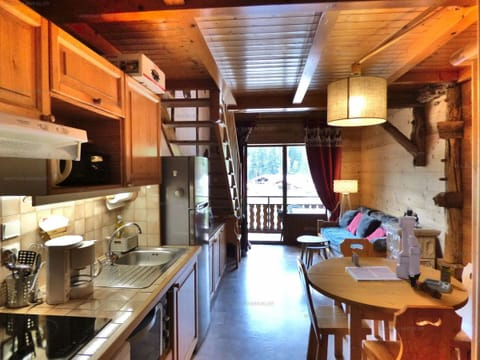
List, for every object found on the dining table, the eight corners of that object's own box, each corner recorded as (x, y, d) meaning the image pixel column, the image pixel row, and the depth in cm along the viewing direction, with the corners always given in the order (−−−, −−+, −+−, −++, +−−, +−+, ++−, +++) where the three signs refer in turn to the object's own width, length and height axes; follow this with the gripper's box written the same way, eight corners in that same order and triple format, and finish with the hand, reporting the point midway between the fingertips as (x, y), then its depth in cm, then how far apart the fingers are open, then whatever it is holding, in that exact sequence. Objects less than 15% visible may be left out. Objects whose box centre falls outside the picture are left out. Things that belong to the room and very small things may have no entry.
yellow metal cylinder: (453, 283, 209) (453, 266, 208) (447, 286, 204) (448, 268, 204) (441, 280, 215) (442, 263, 214) (435, 282, 210) (436, 265, 210)
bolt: (438, 302, 183) (421, 291, 198) (445, 298, 183) (427, 287, 198) (434, 294, 182) (417, 284, 197) (441, 290, 182) (424, 280, 197)
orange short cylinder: (409, 287, 202) (410, 277, 201) (411, 285, 205) (411, 276, 205) (417, 289, 199) (417, 279, 198) (418, 287, 202) (419, 277, 202)
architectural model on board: (351, 261, 260) (351, 250, 260) (354, 261, 260) (355, 250, 260) (354, 265, 249) (354, 253, 249) (358, 265, 249) (358, 253, 248)
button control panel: (422, 287, 201) (422, 281, 201) (425, 282, 211) (425, 276, 210) (447, 292, 192) (447, 286, 192) (450, 287, 201) (450, 281, 201)
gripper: (419, 268, 193) (418, 289, 194) (423, 263, 204) (423, 283, 205) (406, 266, 198) (406, 286, 198) (412, 261, 209) (411, 280, 209)
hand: (414, 285), depth 202 cm, fingers open, 7 cm apart
